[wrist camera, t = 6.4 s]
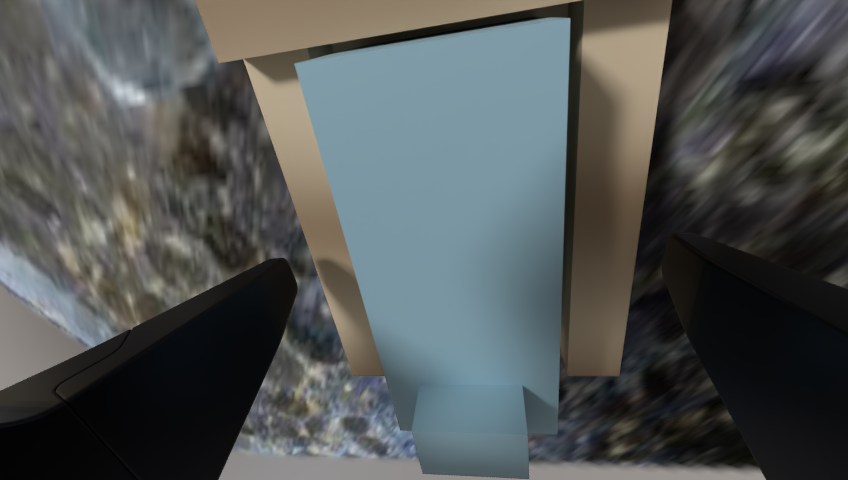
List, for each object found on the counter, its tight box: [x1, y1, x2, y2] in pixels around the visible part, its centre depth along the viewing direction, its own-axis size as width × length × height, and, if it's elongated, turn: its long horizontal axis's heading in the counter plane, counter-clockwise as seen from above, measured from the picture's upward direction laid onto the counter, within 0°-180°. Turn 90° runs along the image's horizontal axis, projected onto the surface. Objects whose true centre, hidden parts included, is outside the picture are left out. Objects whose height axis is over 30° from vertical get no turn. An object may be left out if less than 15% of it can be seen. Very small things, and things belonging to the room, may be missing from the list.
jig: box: [195, 0, 672, 376], centre depth 10 cm, size 13×9×4 cm
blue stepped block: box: [294, 17, 570, 479], centre depth 9 cm, size 9×4×5 cm, turn 9°
